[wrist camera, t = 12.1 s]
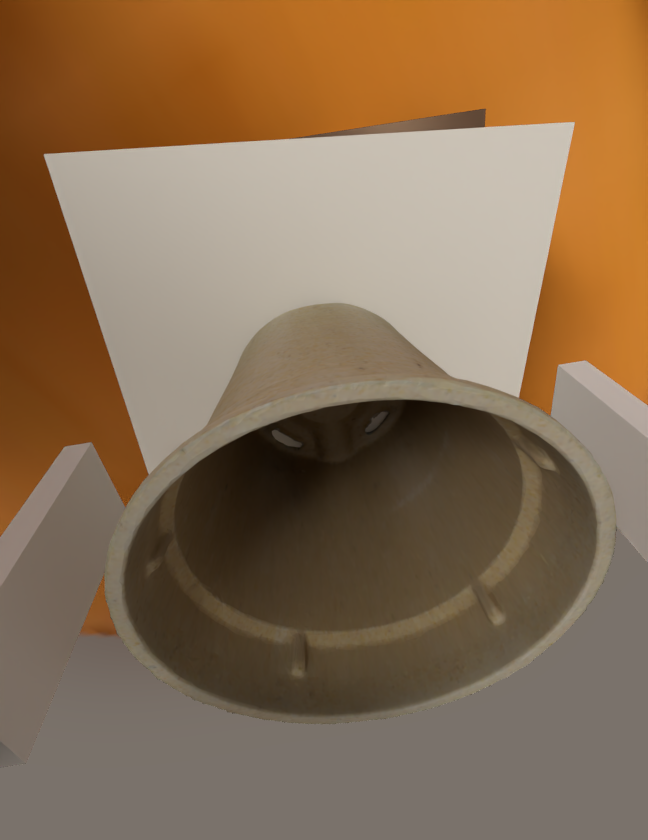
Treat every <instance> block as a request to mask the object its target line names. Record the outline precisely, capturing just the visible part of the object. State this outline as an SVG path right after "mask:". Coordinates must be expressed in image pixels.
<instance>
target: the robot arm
mask: <svg viewBox="0 0 648 840" xmlns="http://www.w3.org/2000/svg"><path fill="white" fill-rule="evenodd" d="M551 417H553V418H554V419H556V420H557V421H558V422H559V423H560V424H562V425H563V426H564V427H565V428H566V429H567V430H568V431H570V432H571V433H572V434H573V435H574V436H575V437H576V438H577V439H578V440H579V441H580V442H581V443H582V444H583V445H584V446H585V447H586V448H587V449H588V450H589V451H590V452H591V453H592V455H593V458H594V459H595V461H596V462H597V463H598V464H599V466H600V467H601V470H602V473H603V474H604V475H605V477H606V478H607V481H608V483H609V486H610V488H611V490H612V493H613V498H614V504H615V511H616V526H617V528H618V529H619V530H620V531H621V533H622V534H623V535H624V536H625V537H626V538H627V540H628V541H629V542H630V543H631V544H632V545H633V546H634V548H635V549H636V550H637V551H638V552H639V554H640V555H641V556H642V557H643V558H644V559H645V560H646V562H647V563H648V405H646V404H645V403H643V402H642V401H641V400H639V399H638V398H637V397H635V396H634V395H632V394H631V393H630V392H628V391H627V390H626V389H624V388H623V387H621V386H620V385H619V384H617V383H616V382H615V381H613V380H612V379H610V378H609V377H608V376H606V375H605V374H604V373H602V372H601V371H599V370H598V369H597V368H595V367H594V366H593V365H591V364H590V363H589V362H587V361H586V360H585V361H579V362H573V363H567V364H561V365H558V369H557V376H556V383H555V390H554V397H553V403H552V410H551ZM124 510H125V506H124V504H123V502H122V500H121V498H120V497H119V495H118V493H117V491H116V489H115V487H114V485H113V483H112V481H111V479H110V477H109V475H108V473H107V471H106V469H105V467H104V465H103V463H102V462H101V460H100V458H99V456H98V454H97V452H96V450H95V448H94V446H93V444H92V442H90V443H84V444H78V445H72V446H66V447H64V448H63V450H62V451H61V452H60V454H59V455H58V457H57V458H56V459H55V461H54V462H53V464H52V465H51V467H50V468H49V469H48V471H47V472H46V474H45V475H44V476H43V478H42V479H41V481H40V482H39V483H38V485H37V486H36V488H35V489H34V491H33V492H32V493H31V495H30V496H29V498H28V499H27V500H26V502H25V503H24V505H23V506H22V507H21V509H20V510H19V512H18V513H17V515H16V516H15V517H14V519H13V520H12V522H11V523H10V524H9V526H8V527H7V529H6V530H5V531H4V533H3V534H2V536H1V537H0V768H1V767H8V766H13V765H20V764H26V762H27V760H28V757H29V755H30V753H31V750H32V748H33V745H34V743H35V740H36V738H37V735H38V733H39V731H40V728H41V726H42V723H43V721H44V718H45V716H46V714H47V711H48V709H49V706H50V704H51V701H52V699H53V697H54V694H55V692H56V689H57V687H58V684H59V682H60V679H61V677H62V674H63V672H64V670H65V667H66V665H67V662H68V660H69V658H70V655H71V653H72V650H73V648H74V645H75V643H76V641H77V638H78V636H79V633H80V631H81V628H82V626H83V623H84V621H85V619H86V616H87V614H88V611H89V609H90V606H91V604H92V602H93V599H94V597H95V594H96V592H97V589H98V587H99V584H100V582H101V580H102V577H103V575H104V572H105V564H106V558H107V552H108V548H109V544H110V542H111V539H112V536H113V534H114V531H115V529H116V527H117V524H118V522H119V520H120V518H121V516H122V514H123V512H124Z"/></svg>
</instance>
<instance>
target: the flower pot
mask: <svg viewBox="0 0 648 840" xmlns="http://www.w3.org/2000/svg"><path fill="white" fill-rule="evenodd" d="M381 412H388V415H387V416H386V417H385V419H384V420H383V421H382V422H381V423H380V425H379V426H378V427H377V428H376V429H374V430H373V431H371V432H365V429H366V428H367V427H368V426H369V425H370V424H371V422H372V420H371V419H372V417H373V418H375V417H377V416H378V415H379V414H380V413H381ZM273 430H278V431H279V432H280V433H282V434H284V435H286V436H288V437H289V438H291V439H293V440H294V441H297V442H300V443H302V445H301V447H294V446H287V445H285V444H284V443H281V442H279V441H278V440H276V439H275V438H274V436H273V435H272V431H273ZM616 531H617V526H616V511H615V504H614V498H613V493H612V490H611V488H610V486H609V483H608V481H607V478H606V477H605V475H604V474H603V473H602V470H601V467H600V466H599V464H598V463H597V462H596V461H595V459H594V458H593V455H592V453H591V452H590V451H589V450H588V449H587V448H586V447H585V446H584V445H583V444H582V443H581V442H580V441H579V440H578V439H577V438H576V437H575V436H574V435H573V434H572V433H571V432H570V431H568V430H567V429H566V428H565V427H564V426H563V425H562V424H560V423H559V422H558V421H557V420H556V419H554V418H553V417H551V416H550V415H548V414H547V413H545V412H544V411H542V410H541V409H539V408H538V407H536V406H534V405H532V404H530V403H528V402H526V401H524V400H522V399H520V398H518V397H516V396H513V395H510V394H508V393H505V392H503V391H500V390H497V389H495V388H492V387H489V386H485V385H482V384H478V383H475V382H471V381H468V380H462V379H457V378H454V377H452V376H450V375H448V374H447V373H446V372H445V371H444V370H442V369H441V368H440V367H439V366H438V365H436V364H435V363H434V362H433V361H431V360H430V359H429V358H428V357H427V356H425V355H424V354H423V353H422V352H420V351H419V350H418V349H417V348H416V347H415V346H413V345H412V344H411V343H410V342H409V341H408V340H407V339H406V338H404V337H403V336H402V335H401V334H400V333H399V332H398V331H397V330H396V329H395V328H394V327H393V326H392V325H391V324H390V323H389V322H387V321H386V320H385V319H383V318H382V317H380V316H378V315H376V314H374V313H372V312H370V311H368V310H366V309H363V308H360V307H357V306H354V305H350V304H344V303H327V304H316V305H310V306H305V307H301V308H297V309H294V310H290V311H288V312H285V313H283V314H281V315H279V316H278V317H276V318H274V319H273V320H271V321H270V322H269V323H267V324H266V325H265V326H264V327H262V328H261V329H260V330H259V331H258V332H257V333H256V334H255V335H254V337H253V338H252V339H251V340H250V342H249V343H248V344H247V346H246V347H245V349H244V351H243V353H242V355H241V357H240V359H239V362H238V365H237V367H236V369H235V371H234V373H233V375H232V377H231V379H230V381H229V383H228V385H227V387H226V389H225V391H224V393H223V395H222V397H221V398H220V400H219V402H218V404H217V406H216V408H215V410H214V412H213V414H212V416H211V418H210V420H209V422H208V424H207V425H206V426H205V427H204V428H203V429H202V430H201V431H199V432H198V433H196V434H195V435H193V436H192V437H191V438H189V439H188V440H186V441H185V442H183V443H182V444H181V445H180V446H179V447H178V448H177V449H175V450H174V451H173V452H172V453H171V454H170V455H169V456H167V457H166V458H165V459H164V460H163V461H162V462H161V463H160V464H159V465H158V466H157V467H156V468H155V469H154V470H153V471H152V472H151V473H150V474H149V475H148V476H147V478H146V479H145V480H144V481H143V482H142V484H141V485H140V486H139V488H138V489H137V490H136V492H135V493H134V495H133V496H132V498H131V499H130V501H129V502H128V504H127V506H126V508H125V510H124V512H123V514H122V516H121V518H120V520H119V522H118V524H117V527H116V529H115V531H114V534H113V536H112V539H111V542H110V544H109V548H108V552H107V558H106V564H105V572H104V576H105V597H106V602H107V604H108V607H109V610H110V616H111V619H112V620H113V623H114V625H115V628H116V631H117V634H118V635H119V636H120V637H121V638H122V641H123V643H124V644H125V645H126V646H127V648H128V649H129V651H130V652H131V653H132V654H133V655H134V657H135V658H136V659H137V660H139V661H140V662H141V663H142V664H143V665H144V666H145V667H146V668H147V669H149V670H150V671H151V672H152V674H153V675H154V676H155V677H156V678H157V679H159V680H162V681H163V682H164V683H166V684H168V685H170V686H171V687H172V688H174V689H176V690H178V691H179V692H181V693H183V694H184V695H186V696H189V697H191V698H192V699H194V700H197V701H200V702H202V703H203V704H208V705H211V706H215V707H217V708H219V709H224V710H226V711H227V712H232V713H237V714H241V715H247V716H250V717H255V718H260V719H264V720H275V721H282V722H289V723H305V724H336V723H349V722H357V721H367V720H377V719H386V718H391V717H397V716H400V715H404V714H411V713H413V712H417V711H424V710H427V709H431V708H433V707H437V706H440V705H443V704H446V703H449V702H452V701H455V700H458V699H460V698H462V697H464V696H468V695H472V693H475V692H478V691H479V690H481V689H484V688H485V687H487V686H491V685H492V684H494V683H495V682H497V681H499V680H501V679H504V678H507V677H508V676H510V675H511V674H512V673H513V672H515V671H517V670H520V669H521V668H522V667H524V666H527V665H528V664H529V663H530V662H531V661H533V660H534V658H535V657H537V656H538V655H540V654H542V653H543V651H544V650H545V649H547V648H548V647H549V646H550V645H552V644H553V643H554V642H556V641H557V640H558V638H560V637H561V636H562V635H563V634H564V633H565V631H566V630H567V629H568V628H570V627H571V626H572V625H573V624H574V623H575V621H576V620H577V619H578V618H579V617H580V616H581V615H582V614H583V613H584V612H585V611H586V608H587V605H588V604H590V603H591V602H592V600H593V599H594V597H595V595H596V594H597V591H598V590H599V588H600V585H601V584H603V582H604V577H605V575H606V573H607V571H608V568H609V566H610V564H611V560H612V557H613V554H614V546H615V540H616V539H615V538H616Z"/></svg>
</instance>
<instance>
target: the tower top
mask: <svg viewBox="0 0 648 840" xmlns="http://www.w3.org/2000/svg"><path fill="white" fill-rule="evenodd" d="M574 124H575V122H567V123H550V124H532V125H515V126H497V127H481V128H464V129H448V130H431V131H415V132H398V133H381V134H365V135H348V136H332V137H315V138H299V139H282V140H266V141H249V142H233V143H216V144H199V145H183V146H166V147H150V148H133V149H117V150H101V151H85V152H70V153H54V154H44V157H45V160H46V163H47V166H48V169H49V172H50V175H51V178H52V182H53V185H54V188H55V191H56V194H57V197H58V200H59V203H60V206H61V209H62V212H63V215H64V218H65V221H66V224H67V227H68V230H69V233H70V236H71V239H72V242H73V245H74V249H75V252H76V255H77V258H78V261H79V264H80V267H81V270H82V273H83V276H84V279H85V282H86V285H87V288H88V291H89V294H90V297H91V300H92V303H93V306H94V309H95V312H96V316H97V319H98V322H99V325H100V328H101V331H102V334H103V337H104V340H105V343H106V346H107V349H108V352H109V355H110V358H111V361H112V364H113V367H114V370H115V373H116V376H117V379H118V383H119V386H120V389H121V392H122V395H123V398H124V401H125V404H126V407H127V410H128V413H129V416H130V419H131V422H132V425H133V428H134V431H135V434H136V437H137V440H138V443H139V446H140V449H141V453H142V456H143V459H144V462H145V465H146V468H147V471H148V474H150V473H151V472H152V471H153V470H154V469H155V468H156V467H157V466H158V465H159V464H160V463H161V462H162V461H163V460H164V459H165V458H166V457H167V456H169V455H170V454H171V453H172V452H173V451H174V450H175V449H177V448H178V447H179V446H180V445H181V444H182V443H183V442H185V441H186V440H188V439H189V438H191V437H192V436H193V435H195V434H196V433H198V432H199V431H201V430H202V429H203V428H204V427H205V426H206V425H207V424H208V422H209V420H210V418H211V416H212V414H213V412H214V410H215V408H216V406H217V404H218V402H219V400H220V398H221V397H222V395H223V393H224V391H225V389H226V387H227V385H228V383H229V381H230V379H231V377H232V375H233V373H234V371H235V369H236V367H237V365H238V362H239V359H240V357H241V355H242V353H243V351H244V349H245V347H246V346H247V344H248V343H249V342H250V340H251V339H252V338H253V337H254V335H255V334H256V333H257V332H258V331H259V330H260V329H261V328H262V327H264V326H265V325H266V324H267V323H269V322H270V321H271V320H273V319H274V318H276V317H278V316H279V315H281V314H283V313H285V312H288V311H290V310H294V309H297V308H301V307H305V306H310V305H316V304H327V303H344V304H350V305H354V306H357V307H360V308H363V309H366V310H368V311H370V312H372V313H374V314H376V315H378V316H380V317H382V318H383V319H385V320H386V321H387V322H389V323H390V324H391V325H392V326H393V327H394V328H395V329H396V330H397V331H398V332H399V333H400V334H401V335H402V336H403V337H404V338H406V339H407V340H408V341H409V342H410V343H411V344H412V345H413V346H415V347H416V348H417V349H418V350H419V351H420V352H422V353H423V354H424V355H425V356H427V357H428V358H429V359H430V360H431V361H433V362H434V363H435V364H436V365H438V366H439V367H440V368H441V369H442V370H444V371H445V372H446V373H447V374H448V375H450V376H452V377H454V378H457V379H462V380H468V381H471V382H475V383H478V384H482V385H485V386H489V387H492V388H495V389H497V390H500V391H503V392H505V393H508V394H510V395H513V396H516V397H518V398H519V394H520V389H521V384H522V379H523V374H524V369H525V364H526V359H527V355H528V350H529V345H530V340H531V335H532V330H533V325H534V320H535V315H536V310H537V305H538V301H539V296H540V291H541V286H542V281H543V276H544V271H545V266H546V261H547V256H548V251H549V246H550V242H551V237H552V232H553V227H554V222H555V217H556V212H557V207H558V202H559V197H560V192H561V187H562V183H563V178H564V173H565V168H566V163H567V158H568V153H569V148H570V143H571V138H572V133H573V129H574ZM387 415H388V412H381V413H380V414H379V415H378V416H377V417H375V418H373V417H372V419H371V420H372V422H371V424H370V425H369V426H368V427H367V428H366V429H365V432H371V431H373V430H374V429H376V428H377V427H378V426H379V425H380V423H381V422H382V421H383V420H384V419H385V417H386V416H387ZM272 435H273V436H274V438H275V439H276V440H278V441H279V442H281V443H284V444H285V445H287V446H294V447H301V445H302V443H300V442H297V441H294V440H293V439H291V438H289V437H288V436H286V435H284V434H282V433H280V432H279V431H278V430H273V431H272Z"/></svg>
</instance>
